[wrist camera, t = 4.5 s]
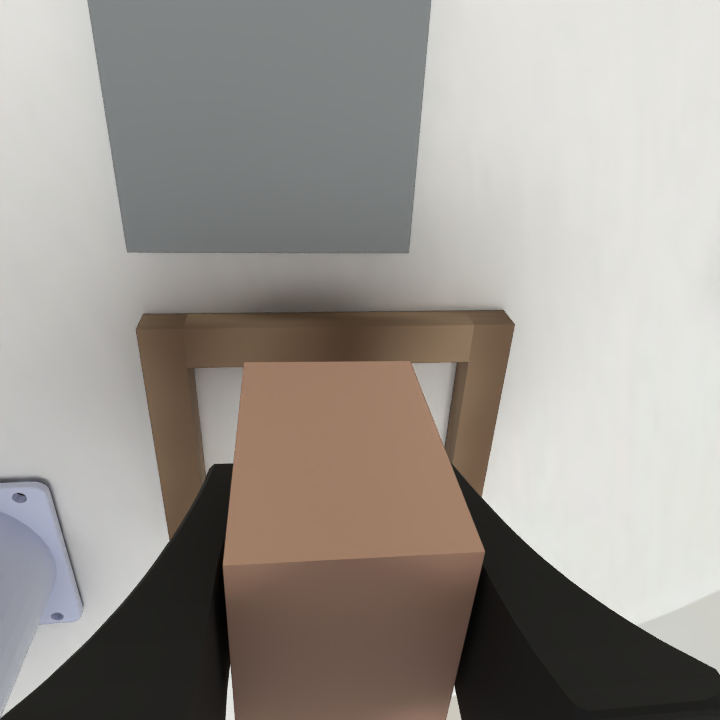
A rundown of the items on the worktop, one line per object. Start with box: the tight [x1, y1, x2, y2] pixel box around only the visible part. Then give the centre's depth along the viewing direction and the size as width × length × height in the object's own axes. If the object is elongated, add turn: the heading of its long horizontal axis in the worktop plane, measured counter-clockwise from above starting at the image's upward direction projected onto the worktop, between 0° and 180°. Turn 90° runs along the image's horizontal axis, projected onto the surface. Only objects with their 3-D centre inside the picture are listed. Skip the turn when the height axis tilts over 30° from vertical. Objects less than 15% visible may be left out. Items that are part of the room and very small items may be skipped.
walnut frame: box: [136, 310, 515, 540], centre depth 23 cm, size 13×10×1 cm
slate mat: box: [88, 0, 431, 253], centre depth 17 cm, size 9×9×1 cm
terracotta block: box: [223, 361, 485, 720], centre depth 13 cm, size 4×5×6 cm
